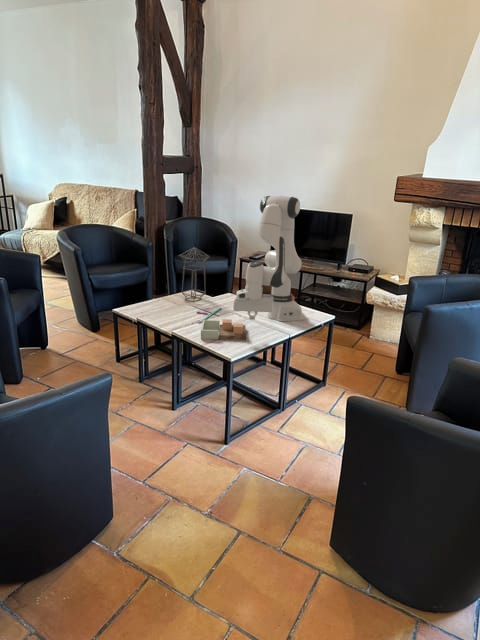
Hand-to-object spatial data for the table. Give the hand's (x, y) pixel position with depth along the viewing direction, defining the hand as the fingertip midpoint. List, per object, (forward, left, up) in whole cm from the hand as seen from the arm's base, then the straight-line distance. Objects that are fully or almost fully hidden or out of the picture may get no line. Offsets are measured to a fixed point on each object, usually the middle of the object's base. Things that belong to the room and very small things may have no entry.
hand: (252, 319), depth 230 cm
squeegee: (+28, -34, -11) cm, 45 cm away
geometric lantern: (+36, -65, -10) cm, 75 cm away
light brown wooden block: (+13, -7, -8) cm, 17 cm away
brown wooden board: (+10, -4, -10) cm, 15 cm away
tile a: (+7, -1, -8) cm, 10 cm away
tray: (+22, -4, -10) cm, 24 cm away
